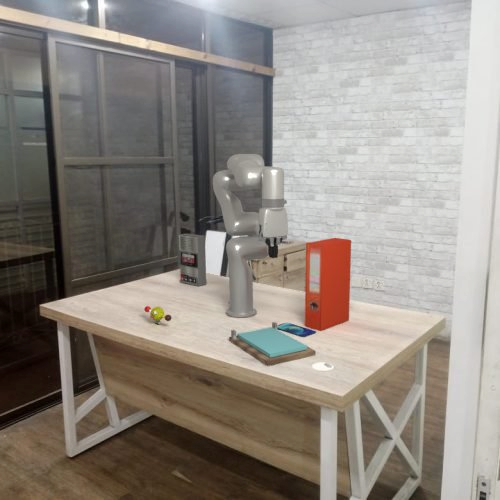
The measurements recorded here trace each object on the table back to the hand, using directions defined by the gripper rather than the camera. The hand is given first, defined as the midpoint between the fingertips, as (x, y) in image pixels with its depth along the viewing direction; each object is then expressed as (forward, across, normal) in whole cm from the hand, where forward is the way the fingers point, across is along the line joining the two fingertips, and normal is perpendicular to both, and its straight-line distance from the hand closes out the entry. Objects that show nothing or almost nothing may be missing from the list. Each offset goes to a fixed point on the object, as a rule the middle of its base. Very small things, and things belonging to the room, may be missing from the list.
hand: (273, 257), depth 180 cm
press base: (+29, +6, +8) cm, 31 cm away
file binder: (+29, -26, -3) cm, 39 cm away
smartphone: (+30, -11, -3) cm, 32 cm away
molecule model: (+29, +30, -36) cm, 56 cm away
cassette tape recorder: (+29, -7, -91) cm, 96 cm away
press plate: (+27, +6, +8) cm, 29 cm away
